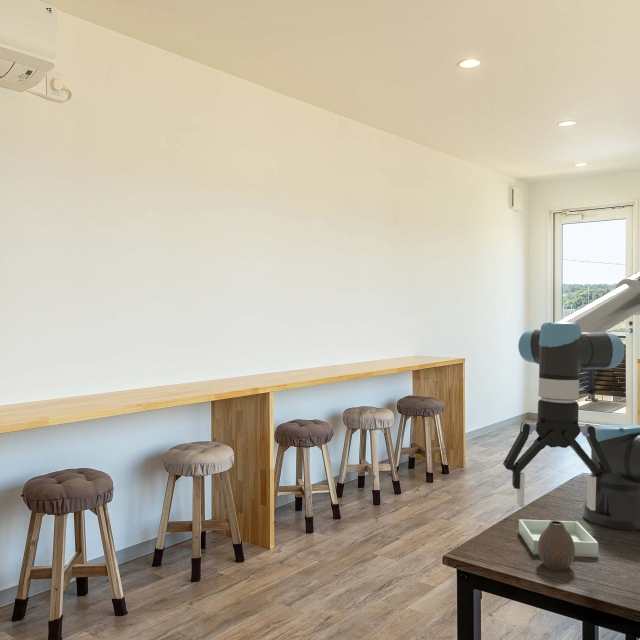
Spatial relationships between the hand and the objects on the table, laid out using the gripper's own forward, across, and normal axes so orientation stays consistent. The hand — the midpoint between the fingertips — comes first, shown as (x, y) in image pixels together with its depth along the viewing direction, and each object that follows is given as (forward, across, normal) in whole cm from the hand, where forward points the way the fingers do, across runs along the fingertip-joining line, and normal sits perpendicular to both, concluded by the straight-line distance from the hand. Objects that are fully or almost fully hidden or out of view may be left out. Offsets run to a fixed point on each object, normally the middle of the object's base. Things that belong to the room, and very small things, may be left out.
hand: (555, 506), depth 122 cm
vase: (+12, 0, 0) cm, 12 cm away
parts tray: (+12, -4, -12) cm, 18 cm away
